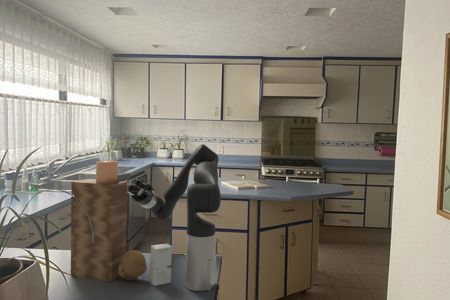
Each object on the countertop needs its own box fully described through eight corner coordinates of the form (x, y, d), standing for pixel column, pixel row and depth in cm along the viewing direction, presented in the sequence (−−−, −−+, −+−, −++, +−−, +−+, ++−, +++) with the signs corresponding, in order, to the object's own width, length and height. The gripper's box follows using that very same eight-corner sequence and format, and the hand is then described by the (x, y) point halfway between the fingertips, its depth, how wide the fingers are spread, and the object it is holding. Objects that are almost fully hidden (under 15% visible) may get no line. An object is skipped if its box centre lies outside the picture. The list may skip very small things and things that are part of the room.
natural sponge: (152, 278, 118) (153, 249, 118) (133, 288, 111) (134, 257, 110) (132, 272, 123) (133, 244, 122) (113, 281, 115) (113, 252, 115)
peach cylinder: (135, 178, 130) (135, 159, 129) (109, 184, 114) (110, 163, 114) (118, 177, 132) (119, 158, 131) (91, 182, 116) (91, 161, 116)
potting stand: (125, 272, 123) (127, 181, 122) (111, 281, 115) (112, 184, 113) (87, 266, 128) (88, 178, 126) (70, 274, 120) (71, 181, 118)
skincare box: (154, 286, 113) (155, 249, 112) (149, 281, 116) (149, 245, 116) (171, 282, 116) (172, 246, 115) (166, 277, 120) (167, 242, 119)
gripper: (132, 187, 148) (112, 170, 134) (162, 189, 144) (146, 173, 130) (126, 204, 144) (106, 189, 131) (158, 207, 140) (140, 192, 127)
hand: (126, 181), depth 130 cm, fingers open, 8 cm apart
